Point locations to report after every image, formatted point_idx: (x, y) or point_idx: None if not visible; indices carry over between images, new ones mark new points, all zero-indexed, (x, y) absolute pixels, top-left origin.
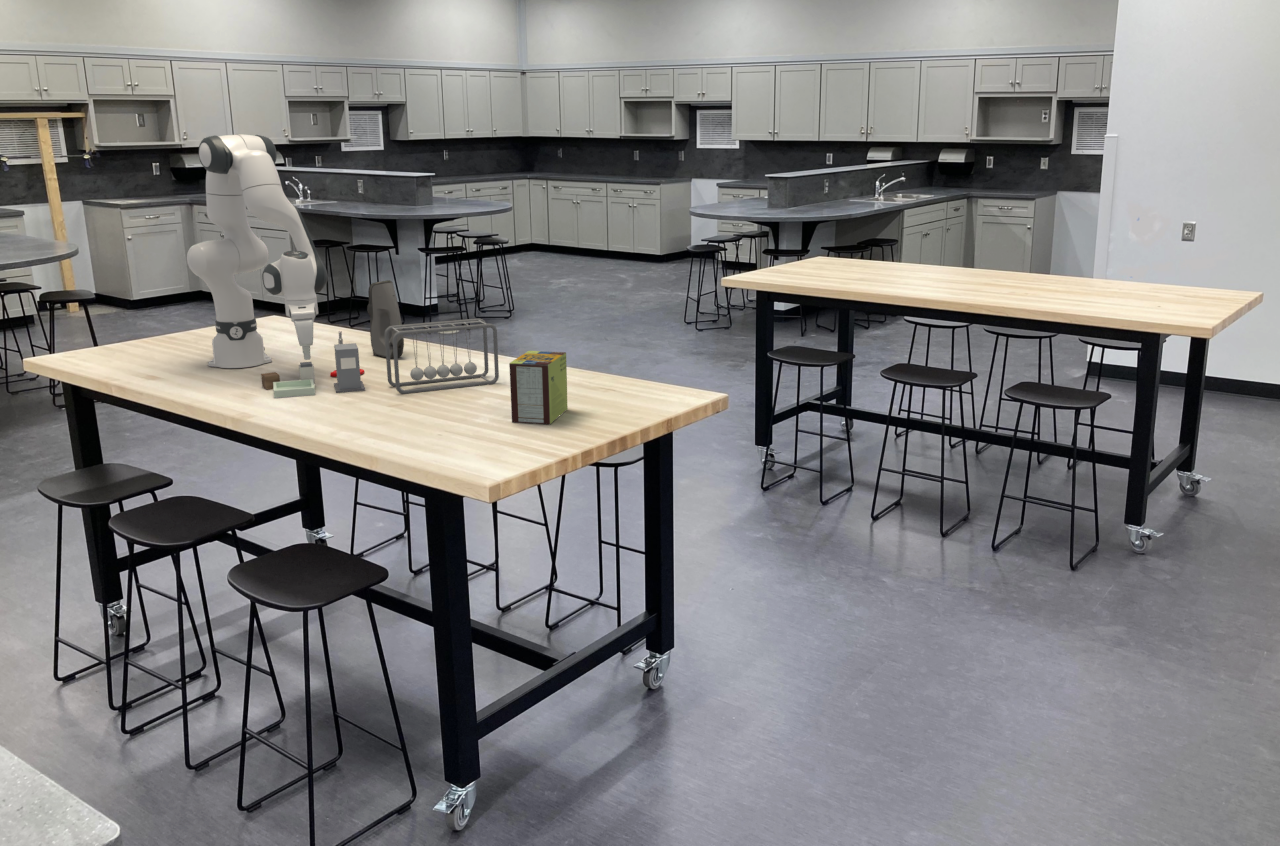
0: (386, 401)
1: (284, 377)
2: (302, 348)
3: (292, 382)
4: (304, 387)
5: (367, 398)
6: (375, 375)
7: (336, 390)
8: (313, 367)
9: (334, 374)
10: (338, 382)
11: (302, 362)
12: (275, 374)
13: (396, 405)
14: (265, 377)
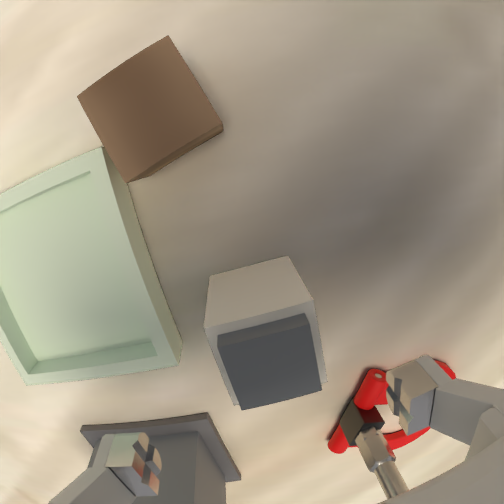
0: (46, 495)
1: (414, 141)
2: (420, 391)
3: (122, 263)
4: (109, 320)
5: (54, 476)
6: (347, 474)
7: (85, 432)
8: (234, 400)
9: (360, 393)
10: None
11: (304, 342)
12: (132, 150)
13: (29, 498)
14: (82, 98)
